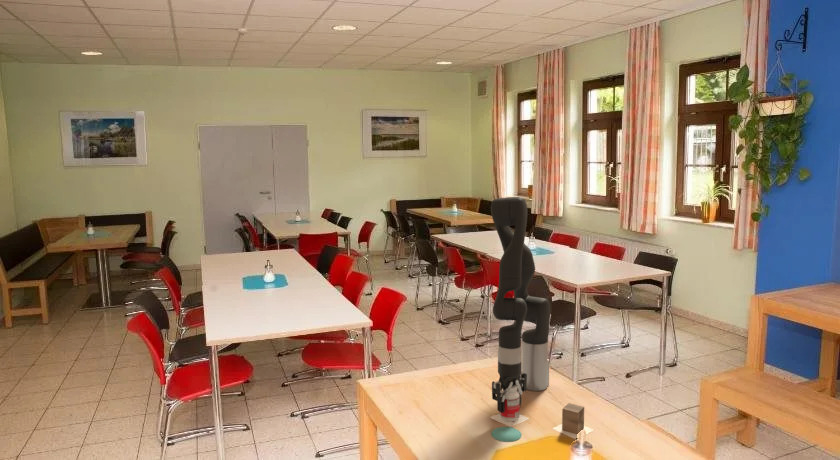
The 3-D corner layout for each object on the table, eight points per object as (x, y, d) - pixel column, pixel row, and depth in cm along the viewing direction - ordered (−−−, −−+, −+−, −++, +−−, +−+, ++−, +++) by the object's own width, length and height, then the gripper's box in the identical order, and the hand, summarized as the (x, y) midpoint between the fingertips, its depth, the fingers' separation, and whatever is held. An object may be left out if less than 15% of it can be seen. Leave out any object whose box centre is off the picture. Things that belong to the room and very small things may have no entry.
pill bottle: (499, 413, 195) (499, 381, 194) (517, 413, 195) (517, 381, 194) (501, 422, 189) (501, 389, 188) (520, 422, 189) (520, 388, 188)
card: (570, 420, 190) (570, 419, 190) (594, 430, 183) (594, 429, 183) (551, 429, 184) (551, 428, 184) (575, 439, 178) (575, 439, 177)
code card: (509, 409, 198) (509, 409, 198) (529, 419, 191) (529, 418, 191) (489, 417, 193) (489, 417, 193) (510, 427, 186) (510, 427, 186)
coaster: (505, 425, 188) (505, 424, 187) (527, 435, 181) (527, 434, 180) (485, 434, 182) (485, 432, 182) (507, 445, 175) (507, 444, 175)
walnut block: (568, 424, 187) (568, 402, 186) (583, 428, 184) (584, 406, 183) (562, 430, 183) (562, 408, 182) (577, 434, 180) (578, 412, 179)
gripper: (516, 351, 197) (516, 398, 199) (485, 361, 188) (485, 410, 190) (533, 357, 191) (533, 406, 193) (502, 367, 182) (502, 419, 184)
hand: (509, 408), depth 192 cm, fingers open, 7 cm apart
